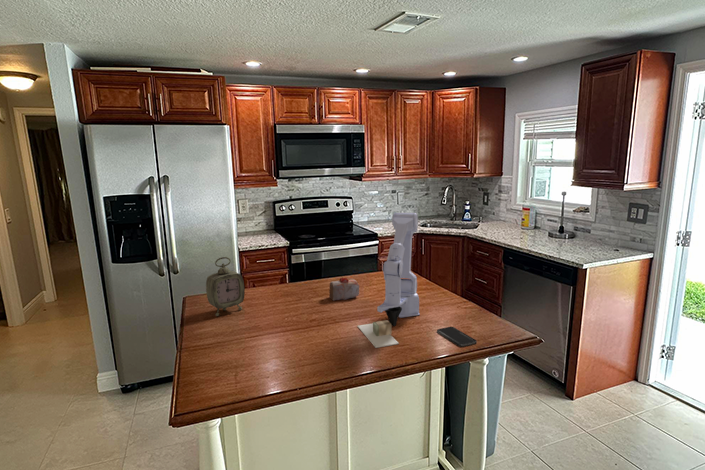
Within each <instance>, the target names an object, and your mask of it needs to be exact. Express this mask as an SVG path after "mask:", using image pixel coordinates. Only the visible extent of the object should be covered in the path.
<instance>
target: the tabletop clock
mask: <svg viewBox="0 0 705 470" xmlns="http://www.w3.org/2000/svg"><path fill="white" fill-rule="evenodd" d="M224 259H226V260H229V262H228V263H226V264H225V263H221V265H219V264H218V263H217V262H218V261H220V260H224ZM231 262H232V261H231V258H230V257H228V256H221V257H218V258H217V259H216V261H215V263H214V264H215V266H216V267H217V268H219V269H218V270H217V272H215V273H212V274H210V275H208V276H207V278H206V282H205V291H206V298H207V301H208V303H209V304H210V305H211V306H213V307H214V308H216V310H217V311H216V312H215V315H214V316H215V317H219V316H220V313H219V312H220V310H221V309H222V311H223V312H224V311H227V308H232V307H235V306H236V307H238V310H239V311H241V310H242V309H243V306H240V304H241V303H243V302H244V300H245V289H246V288H245V281H244V277H243V275H242V274H240V273H238V272H236V271H233V270H230V269H229V268H228V267H227V266H229V265H230V264H231Z"/></svg>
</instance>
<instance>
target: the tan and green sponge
mask: <svg viewBox="0 0 705 470" xmlns="http://www.w3.org/2000/svg"><path fill="white" fill-rule="evenodd" d="M372 323H373V333H374V334H375V335H376V336H382V335H388V334H390V335H392V326H391V323H390V322H389V319H387V320H386V319H385V320H380V321H379V320H378V321H372Z"/></svg>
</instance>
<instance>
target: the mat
mask: <svg viewBox="0 0 705 470" xmlns="http://www.w3.org/2000/svg"><path fill="white" fill-rule="evenodd" d="M357 328H358V329H359V330H360V332H362V334H363V335H364V336H365V337H366V338H367V339H368V341H369V342H370V343H371V344H372V345H373V347H374V348H375V349H379V348H384V347H390V346H395V345H396V346H397V345H399V344H400V343H399V341H397V340H396V339H395V337H393V336H392V334H388V335H382V336H376V335H375V334H374V333H373V322H372V323H367V324H361V325H360V324H359V325H357Z"/></svg>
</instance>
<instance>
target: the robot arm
mask: <svg viewBox="0 0 705 470" xmlns="http://www.w3.org/2000/svg"><path fill="white" fill-rule="evenodd" d="M391 223H392V226H393V229H394V230H395V231H394V239H393V243H392V244H391V245H390V246H389V250H388V254H387V255H388V256H387V258H386V261H384V263H383V266H382V267H383V268H382V269H383V270H382V271H383V279H384V285H385V289H384V291H385V292H384V293H385V296H384V297H385V299H384V300H383V303H382V304H380V305H377V312H378V313H380V314H381V313H385V314H386V317H387V320H388V321H389V322H390V323H391V327H395V326H397V322H398V319H399V318H400V319H401V318H408V317H415V316H420V297H419V294H418V293H417V291H418V278H417V275H416V274H414V273H413V271H412V270H411V269H412V268H411V267H412V250H413V249H412V247H413V246H412V245H413V244H412V243H413V235H414V233H417V232H418V228H419V227H418V224H419V217H418V213H417V212H402V211H401V212H400V211H399V212H397V211H393V213H392V216H391Z"/></svg>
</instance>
